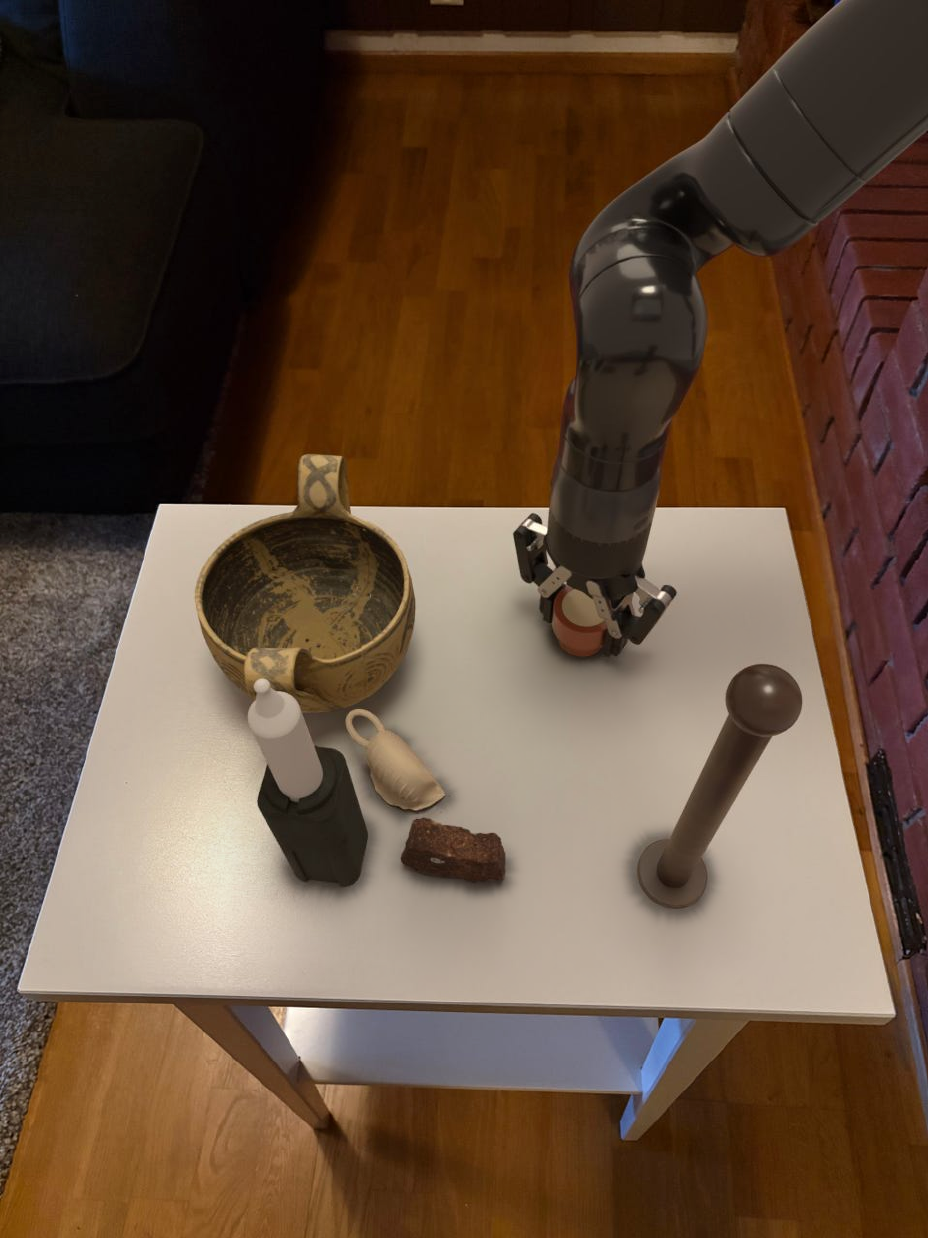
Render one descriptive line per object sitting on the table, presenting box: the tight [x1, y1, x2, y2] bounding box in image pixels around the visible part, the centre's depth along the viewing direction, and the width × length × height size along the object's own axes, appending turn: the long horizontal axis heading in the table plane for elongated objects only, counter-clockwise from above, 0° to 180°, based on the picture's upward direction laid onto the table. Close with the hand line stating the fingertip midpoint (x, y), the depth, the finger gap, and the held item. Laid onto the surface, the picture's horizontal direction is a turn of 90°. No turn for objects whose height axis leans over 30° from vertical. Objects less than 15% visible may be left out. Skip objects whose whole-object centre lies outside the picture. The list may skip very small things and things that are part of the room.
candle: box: [247, 679, 369, 888], centre depth 56 cm, size 5×5×25 cm
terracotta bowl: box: [551, 585, 608, 657], centre depth 75 cm, size 5×5×4 cm
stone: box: [400, 817, 506, 884], centre depth 63 cm, size 8×3×5 cm, turn 80°
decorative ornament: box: [345, 708, 446, 811], centre depth 67 cm, size 4×8×5 cm, turn 37°
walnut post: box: [637, 663, 803, 909], centre depth 53 cm, size 5×5×28 cm
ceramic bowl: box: [194, 453, 416, 713], centre depth 69 cm, size 22×17×15 cm
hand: (581, 632), depth 76 cm, fingers closed on terracotta bowl, 5 cm apart
